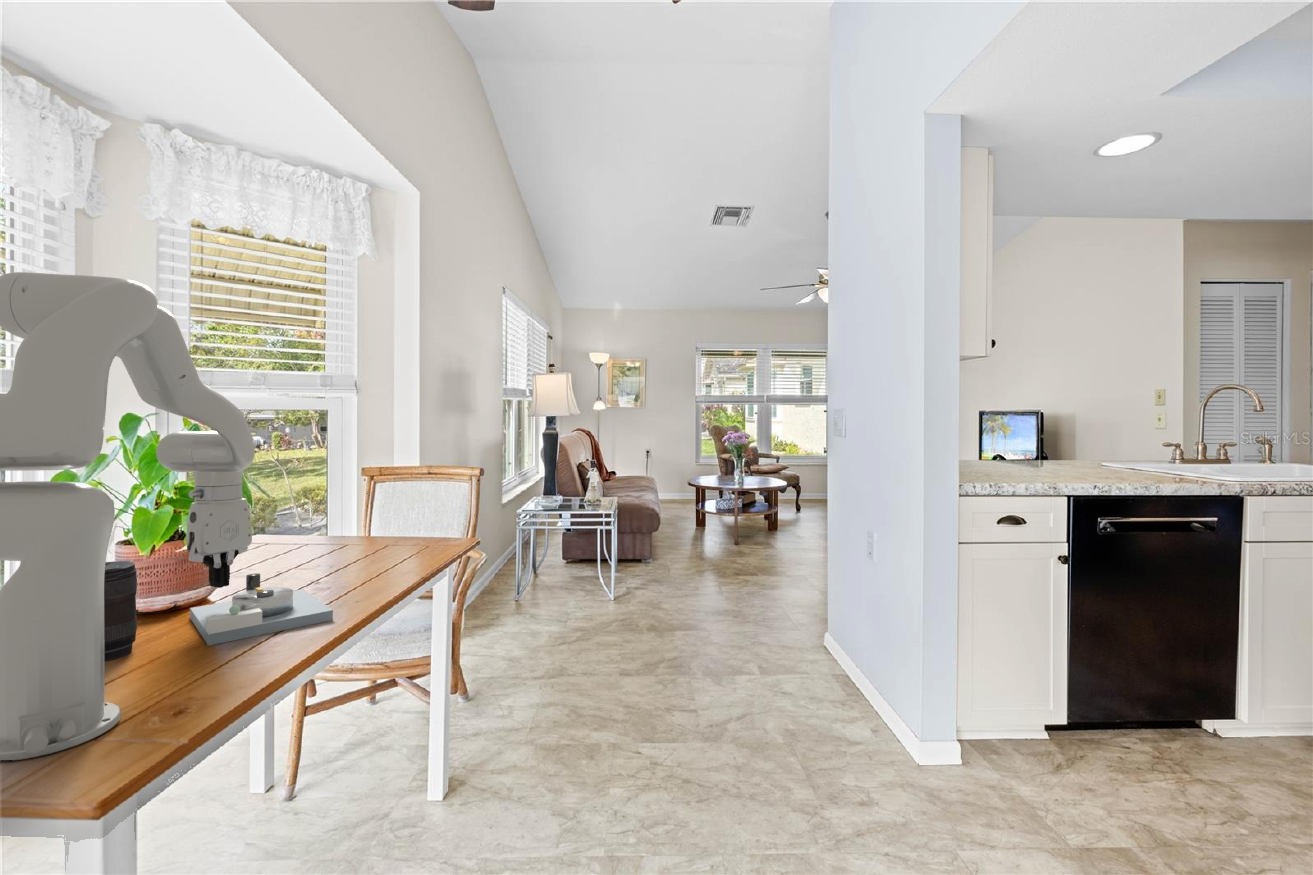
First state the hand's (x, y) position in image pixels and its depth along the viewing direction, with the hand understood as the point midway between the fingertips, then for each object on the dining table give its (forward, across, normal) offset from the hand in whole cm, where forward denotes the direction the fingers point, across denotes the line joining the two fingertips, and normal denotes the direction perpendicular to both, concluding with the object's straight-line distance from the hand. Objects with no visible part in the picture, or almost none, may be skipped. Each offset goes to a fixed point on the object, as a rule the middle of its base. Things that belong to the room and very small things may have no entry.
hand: (219, 585), depth 117 cm
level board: (+7, +3, -7) cm, 10 cm away
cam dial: (+4, +3, -7) cm, 9 cm away
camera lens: (+7, -20, -1) cm, 21 cm away
